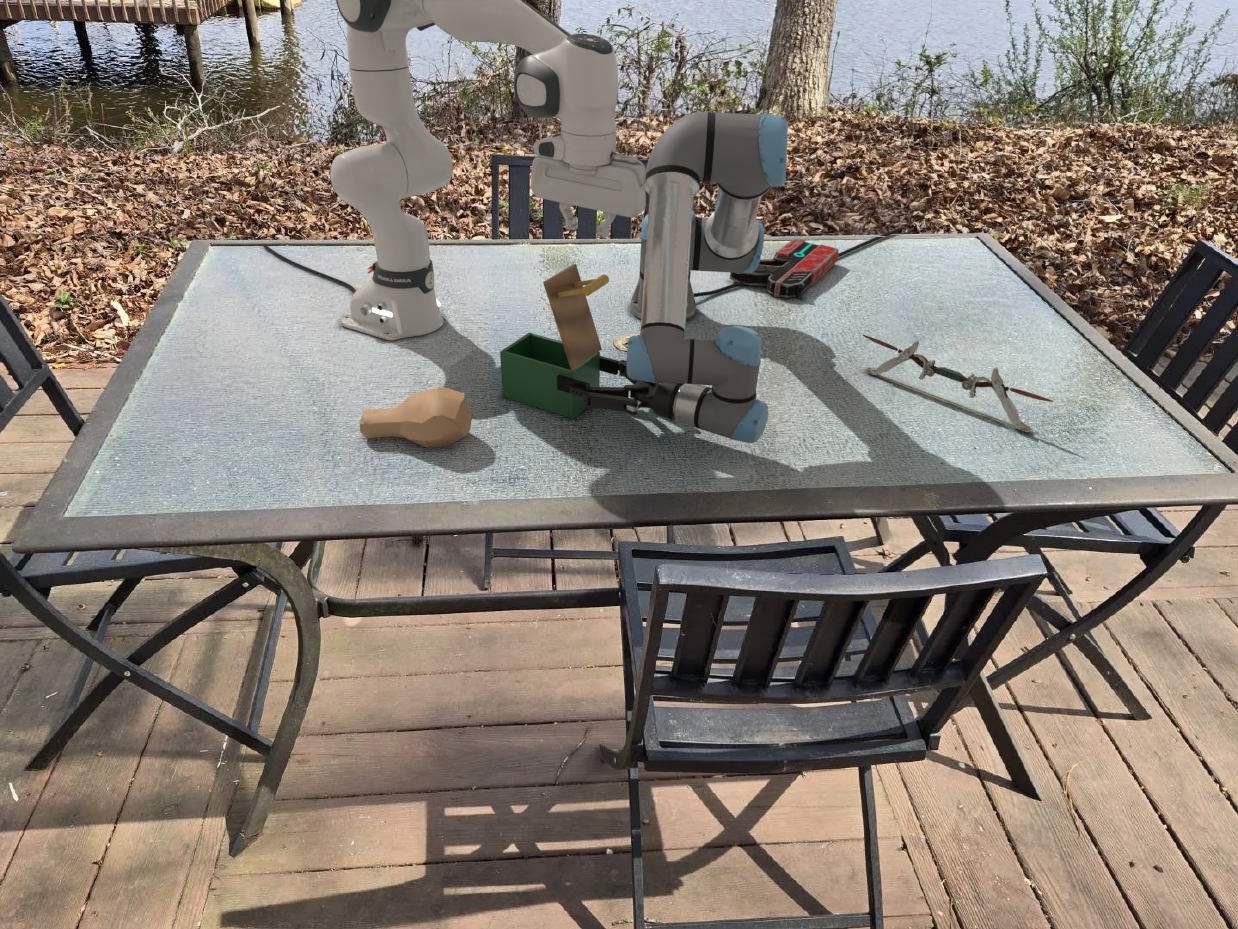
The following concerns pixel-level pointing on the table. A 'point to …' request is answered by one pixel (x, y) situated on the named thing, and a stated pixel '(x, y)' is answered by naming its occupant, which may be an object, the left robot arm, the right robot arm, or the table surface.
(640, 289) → the right robot arm
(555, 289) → the lid
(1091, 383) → the table surface
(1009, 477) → the table surface
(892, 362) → the bow
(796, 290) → the gun
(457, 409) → the squash
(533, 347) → the chest
